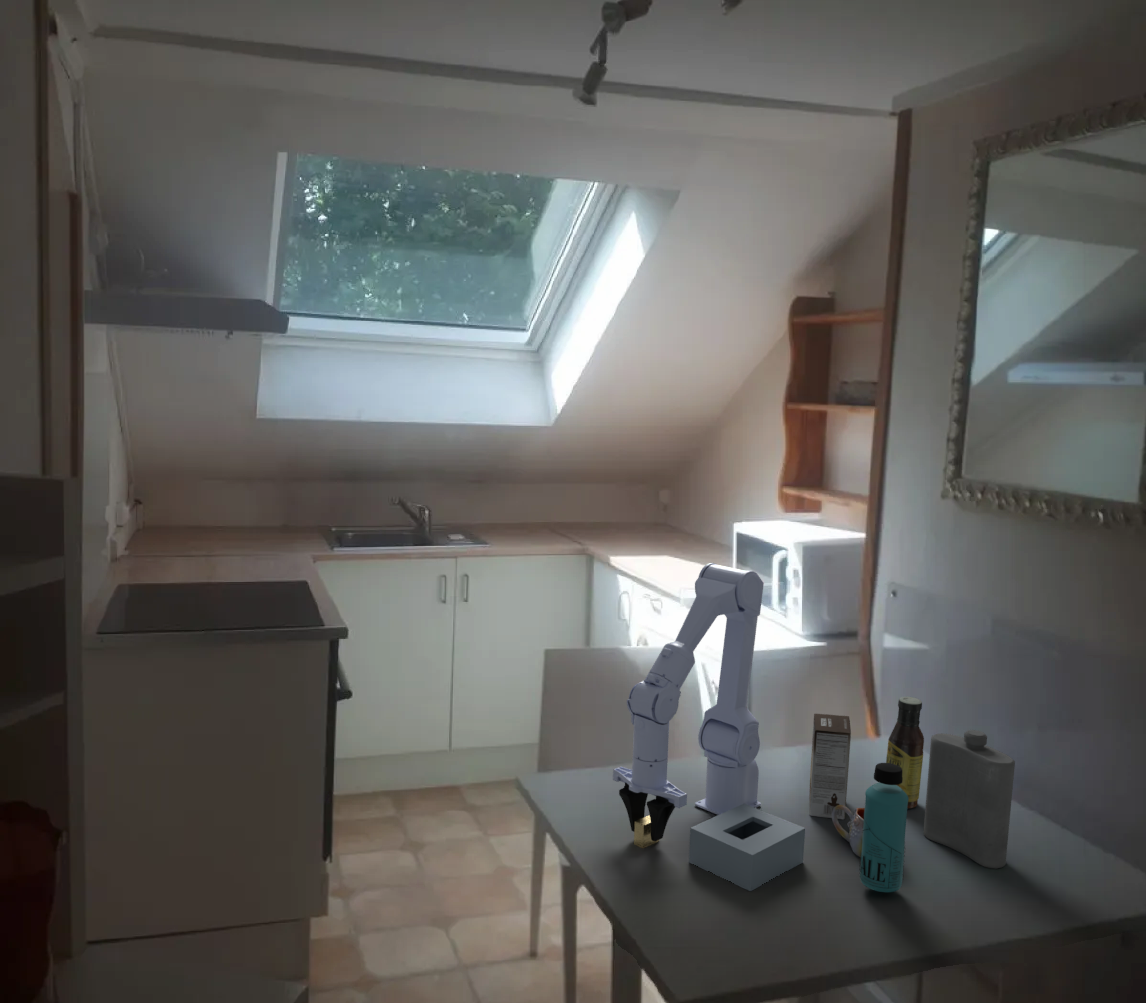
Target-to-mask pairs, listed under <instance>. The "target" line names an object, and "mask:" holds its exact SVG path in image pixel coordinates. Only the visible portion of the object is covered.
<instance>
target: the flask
mask: <svg viewBox="0 0 1146 1003" xmlns="http://www.w3.org/2000/svg"><path fill="white" fill-rule="evenodd" d="M987 741H988V735H987V734H986V733H984V732H983V731H981V730H976V729H968V730H966V731H965V732H964V733H963V737H962V736H960V735H955V734H951V733H937V734H935V733H934V735H931V738H930V746H929V747H930V748H929V758H928V759H929V760H928V772H927V782H926V796H925V810H924V819H923V820H924V821H923V822H924V823H923V836H924V837H925V838H926V839H928V840H929V841H932V842H935V843H938V844H940V845H943V846H945V847H948V848H950V849H951V850H954V851H956V852H959V853H960V854H962V855H965V856H966V857H967V858H969V859H971V860H972V861H974V862H975V863H976V864H978V865H979V866H982V867H984V868H988V869H1002V868H1003V867H1005V866H1006V864H1007V854H1008V853H1007V852H1008V840H1009V830H1010V821H1011V810H1012V800H1013V798H1012V797H1013V788H1014V787H1013V786H1014V776H1015V768H1016V765H1015V764H1016V761H1015V760H1014V759H1013V758H1012V757H1011V756H1009V755H1007V754H1006V753H1004V752H1002V751H1001V750H998V749H996V748H993V747H990V746H988V745H987V743H988V742H987Z"/></svg>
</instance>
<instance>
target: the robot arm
mask: <svg viewBox="0 0 1146 1003" xmlns="http://www.w3.org/2000/svg"><path fill="white" fill-rule="evenodd" d="M764 584H765V583H764V582H763V580H762V579H761V577H760V576H759V575H758V573H757V572H756V571H754V570H744V569H740V568H735V567H730V566H725V565H719V564H717V563H714V562H709V563H706V564H705V565H704V566H703V567H702V569H701V570H700V572H699V574H698V576H697V578H696V580H695V581H694V593H695V598H694V600H693V602H692V604H691V606H690V609H689V611H688V613H687V615H686V617H685V619H684V621H683V623H682V626H680V627H681V628H680V630H679V632H678V634H677V636H676V638H675V641H673V642H669V643H665V645H664V646H663V647H662V649H661V651H660V652H659V655H658V656H657V657H656V659H655V661H654V662H653V665H652V666H651V669H650V670H649V671H648V674H647V675H646V677H645V678H644V680H642V681H640V682H637V683H636V684H634V685H633V687H631V690H630V692H629V694H628V695H629V696H628V699H626V707H627V711H628V712H629V713H630V723H631V724H632V725H633V739H632V743H633V744H632V767H631V769H630V768H627V767H623V766H619V767H616V768H614V769H613V770H612V771H613V772H612V780H613V781H614V782H617V783H619V782H620V783H621V782H622V783H624V785H623V788H620V789H618V795H619V796H620V798H621V800H622V803H623V804H624V807H625V810H626V813H627V817H628V820H629V825H630V829H631V832H633V833H634V829H635V821H637V820H639V819H642V818H644V817H645V813H646V812H645V811H646V807H647V810H648V813H649V815H650V821H651V840H652V841H657V840H659V841H660V840H661V839H664V838H663V837H664V834H665V830H666V826H667V823H668V822H669V819H670V817H671V816H672V814H673V812H674V810H675V808H677V809H680V808H682V807H685V806H687V805H688V804H687V801H688V800H687V799H688V793H686V792H684V791H682V790H681V789H679V788H678V787H677V786H676V785H674V784H672V783H671V782H670V780H668V779H667V778H668V760H669V759H668V758H669V740H670V738H669V736H670V735H669V734H670V721H671V720H672V719H673V718H674V716H675V715H676V714H677V711H678V709H679V700H680V698H681V694H682V692H681V688H682V686H683V685H684V683H685V681H686V679H687V678H688V676H689V675H690V673H691V671H692V669H693V667H694V665H695V663H696V659H695V655H694V651H695V649H696V648H697V646H698V645H699V644H700V642H702V639H703V638H704V636H705V635H706V633H707V632H708V631H709V630H710V628H711V626H712V625H713V623H714V622H715V620H716V619H717V618H718V617H719V616H722V615H724V617H725V618H726V623H725V631H724V639H723V646H722V647H723V649H722V657H721V664H720V673H719V680H718V681H719V682H718V691H717V696H716V699H717V700H716V704H715V705H713V706H711V707H710V708H708V709H707V710H705V711H704V713H703V714H704V716H703V720H702V723H701V725H700V727H699V729H698V730H699V731H698V733H697V734H698V735H697V736H698V738H697V739H698V744H699V747H700V748H701V750H702V751H703V754H704V755H703V757H706V759H707V761H706V779H705V781H706V783H705V798H703V799H701V800H697V801H695V802H694V805H695V807H698V808H700V809H703V810H705V811H708V812H709V813H712V814H715V815H716V816H718V815H720V814H722V813H724V812H726V811H729V810H731V809H733V808H735V807H738V806H740V805H742V804H747V805H749V806H752V807H754V808H758V807H760V806H762V802H760V801H758V793H759V792H758V791H759V790H758V789H759V773H760V772H759V766H758V764H757V761H756V758H757V756H758V754H759V751H760V747H761V746H760V745H761V742H760V734H759V727H760V726H759V725H760V724H759V721H758V720H757V718H756V717H755V716H754V715H753V713H752V712H751V711H750V710H749V708H748V701H749V700H748V699H749V694H750V693H749V692H750V684H751V675H752V667H753V658H754V649H755V644H756V643H755V642H756V635H757V634H756V633H757V627H758V626H757V625H758V618H759V616H760V615H761V610H762V601H763V600H762V599H763V592H764ZM649 795H652V796H654V797H655V798H654V799H651V800H648V801H647V799H648V796H649Z"/></svg>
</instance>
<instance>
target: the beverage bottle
mask: <svg viewBox="0 0 1146 1003" xmlns="http://www.w3.org/2000/svg"><path fill="white" fill-rule="evenodd" d="M873 779H874V780H875V781H876V782H877V783H873V784H872V785H870V786H869V787H868V788H866V790H865V793H864V795H865V800H864V801H865V802H864V805H865V806H864V808H865V811H864V812H863V814H864V825H862V827H863V828H862V829H863V832H862V833H863V837H862V838H863V839H861V840H862V841H861V842H862V843H861V844H862V845H861V846H862V852H861V851H860V853H861V855H860V856H861V857H860V858H859V861H860V864H859V870H858V871H859V874H858V876H859V879H860V882H861V883H862V885H863V886H865V887H866V888H868V889H870V890H873V891H875V892H881V893H894V892H898V891H899V890H900V889H901V888H902V885H903V878H904V873H905V871H904V870H905V864H904V863H905V857H906V856H905V853H906V851H905V850H906V849H905V848H906V842H905V841H906V831H907V830H906V827H907V817H908V809H907V806H908V800H909V798H908V796H907V794H906V793H905V792H904V791H903V790H902V789H901V788H900V787H899V786H897V785H899V784H901V783H902V781H903V777H902V768H901V767H900V766H898V765H895V764H892V763H886V762H879V763H876V765H875V766H874V773H873ZM863 810H864V809H863Z"/></svg>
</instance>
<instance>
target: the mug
mask: <svg viewBox="0 0 1146 1003" xmlns="http://www.w3.org/2000/svg"><path fill="white" fill-rule="evenodd" d="M839 809H842V810H844V811H845V814H847V815H848V817H849V819H850V820H849V821H848V822H847V827H848V829H849V830H848V831H849V832H848V831H847V830H846V829H844V828H843V827H842V825H841V823H840V822H839V819H837V812H838V810H839ZM863 809H864V810H863ZM864 811H865V807H856V808H855V810H854V812H852V811H851V809H850V808H848V807H847V805H846V806H844V805H837V806H836V807H834V809H833V810H832V818H831V820H832V823H833V825H834V827H835V829H836V831H837V832H838V834H839V835H840V836H842V838H843V839H844V840H846V841H847V843H849V845H850V849H851V850H852V852H853V854H854V855H856V856H857V857H859V858H861V856H860V855H861V853H860V851H861V852H862V846H861V845H862V844H861V843H862V842H861V841H862V840H861V839H863V838H862V837H863V833H862V832H863V829H862V828H863V827H862V825H864V814H863V812H864Z"/></svg>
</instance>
